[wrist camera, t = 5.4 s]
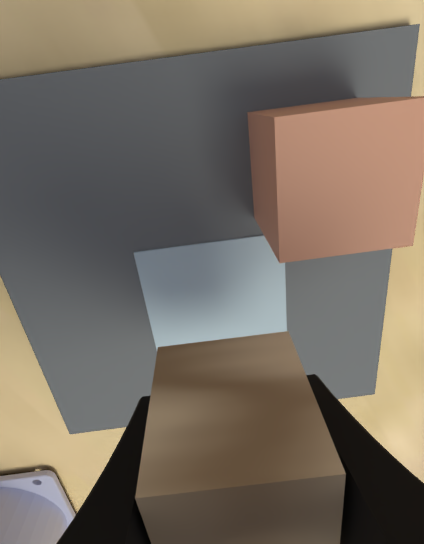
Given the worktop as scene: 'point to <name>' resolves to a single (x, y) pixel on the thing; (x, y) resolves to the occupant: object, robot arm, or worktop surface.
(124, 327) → the mat
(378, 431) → the worktop surface
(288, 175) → the terracotta block
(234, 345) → the maple block
